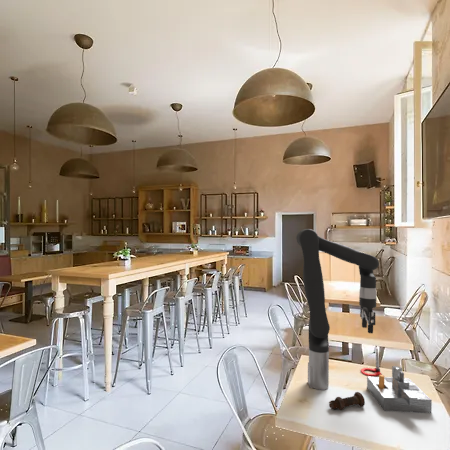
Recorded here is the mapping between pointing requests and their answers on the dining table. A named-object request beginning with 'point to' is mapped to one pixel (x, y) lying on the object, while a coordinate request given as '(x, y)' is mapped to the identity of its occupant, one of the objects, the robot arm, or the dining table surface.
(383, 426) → the dining table surface
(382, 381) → the rounded pin
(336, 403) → the bolt
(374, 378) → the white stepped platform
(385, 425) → the dining table surface
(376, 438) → the dining table surface
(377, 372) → the tow hook
